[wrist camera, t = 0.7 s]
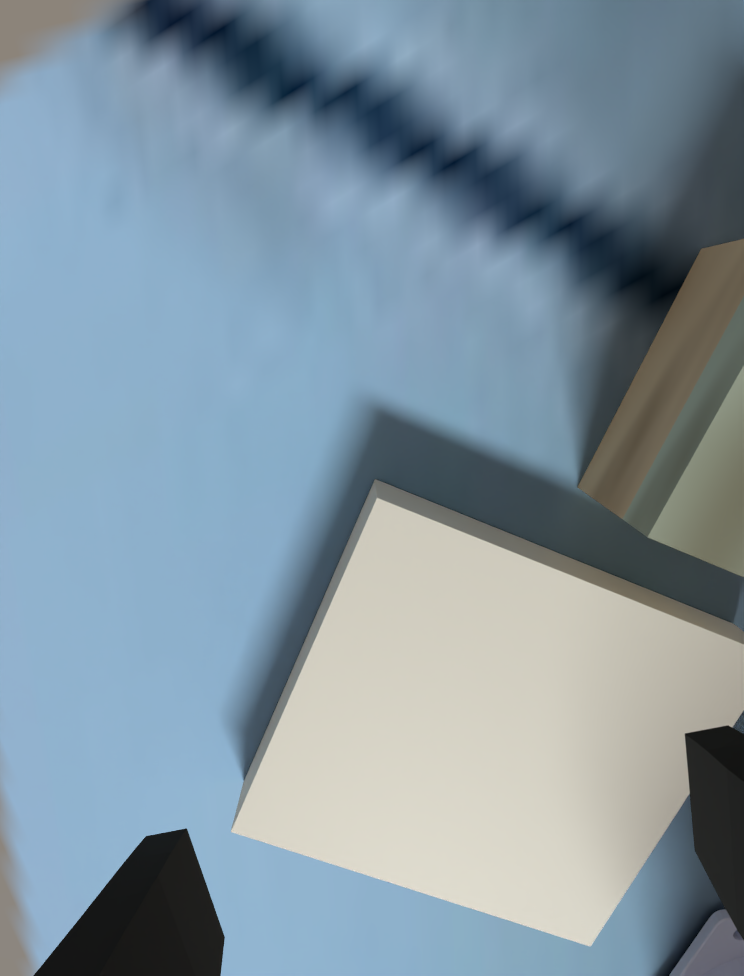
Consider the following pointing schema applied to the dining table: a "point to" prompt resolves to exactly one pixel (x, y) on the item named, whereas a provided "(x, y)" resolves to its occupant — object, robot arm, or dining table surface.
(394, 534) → the white stand
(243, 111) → the dining table surface
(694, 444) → the sage green block
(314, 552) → the dining table surface
